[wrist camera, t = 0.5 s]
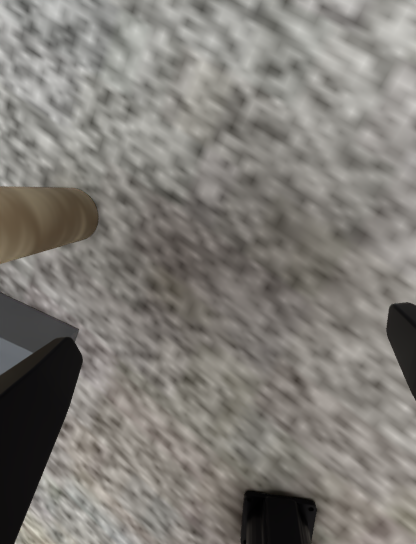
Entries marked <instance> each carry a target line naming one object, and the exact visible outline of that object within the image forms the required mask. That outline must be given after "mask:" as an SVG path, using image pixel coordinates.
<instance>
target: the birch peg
mask: <svg viewBox="0 0 416 544" xmlns="http://www.w3.org/2000/svg"><path fill="white" fill-rule="evenodd" d="M97 224H98V212H97V208H96V206H95V204H94V202H93V200H92V199H91V198H90V197H89V196H88V195H87V194H86V193H85V192H83V191H81V190H79V189H75V188H52V187H3V186H0V264H2V263H5V262H9V261H12V260H16V259H19V258H22V257H26V256H29V255H33V254H36V253H40V252H43V251H46V250H50V249H53V248H57V247H60V246H63V245H67V244H70V243H74V242H77V241H80V240H84V239H86V238H88V237H90V236H91V235H92V234H93V233H94V231H95V229H96V227H97Z"/></svg>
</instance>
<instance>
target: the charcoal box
mask: <svg viewBox="0 0 416 544" xmlns="http://www.w3.org/2000/svg"><path fill="white" fill-rule="evenodd" d="M78 330H79V329H77V328H75V327H72V326H70V325H68V324H66V323H64V322H62V321H60V320H57V319H55V318H53V317H51V316H49V315H47V314H45V313H43V312H40V311H38V310H36V309H34V308H32V307H30V306H28V305H25V304H23V303H21V302H19V301H17V300H15V299H13V298H11V297H8V296H6V295H4V294H2V293H0V375H1V374H3V373H4V372H6V371H7V370H9V369H10V368H12V367H13V366H15V365H16V364H18V363H19V362H21V361H22V360H24V359H25V358H27V357H28V356H30V355H31V354H33V353H34V352H36V351H37V350H39V349H40V348H42V347H43V346H45V345H46V344H48V343H49V342H51V341H52V340H54V339H55V338H58V337H67V336H68V337H71V338H72V339H73V340H74V342H75V339H76V336H77V333H78Z"/></svg>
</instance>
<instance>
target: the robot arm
mask: <svg viewBox="0 0 416 544" xmlns="http://www.w3.org/2000/svg"><path fill="white" fill-rule="evenodd" d="M386 331H387V336H388V339H389V341H390V344H391V346H392V349H393V351H394V353H395V356H396V358H397V360H398V363H399V365H400V367H401V370H402V372H403V374H404V377H405V379H406V381H407V384H408V386H409V388H410V390H411V393H412V395H413V396H414V398H415V400H416V305H414V304H412V303H408V302H406V303H396V304H392V305H391V306H390V308H389V313H388V320H387V328H386ZM82 362H83V358H82V354H81V353H80V351H79V349H78V347H77V345H76V344H75V342H74V340H73V339H72V338H71V337H68V336H67V337H58V338H55V339H54V340H52V341H51V342H49V343H48V344H46V345H45V346H43V347H42V348H40V349H39V350H37V351H36V352H34V353H33V354H31V355H30V356H28V357H27V358H25V359H24V360H22V361H21V362H19V363H18V364H16V365H15V366H13V367H12V368H10V369H9V370H7V371H6V372H4V373H3V374H1V375H0V544H14V543H15V540H16V538H17V536H18V533H19V531H20V528H21V526H22V523H23V521H24V518H25V516H26V513H27V511H28V508H29V506H30V503H31V501H32V499H33V496H34V494H35V491H36V489H37V486H38V484H39V481H40V479H41V476H42V474H43V471H44V469H45V466H46V464H47V462H48V459H49V457H50V454H51V452H52V449H53V447H54V444H55V442H56V439H57V437H58V434H59V432H60V429H61V427H62V425H63V422H64V420H65V417H66V414H67V412H68V409H69V406H70V403H71V399H72V396H73V393H74V389H75V386H76V383H77V379H78V376H79V373H80V369H81V366H82ZM316 512H317V508H316V504H315V502H313V501H310V500H303V499H297V498H290V497H284V496H277V495H271V494H264V493H258V492H251V491H247V492H245V494H244V503H243V515H242V526H241V544H311V540H312V534H313V528H314V523H315V517H316Z"/></svg>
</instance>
